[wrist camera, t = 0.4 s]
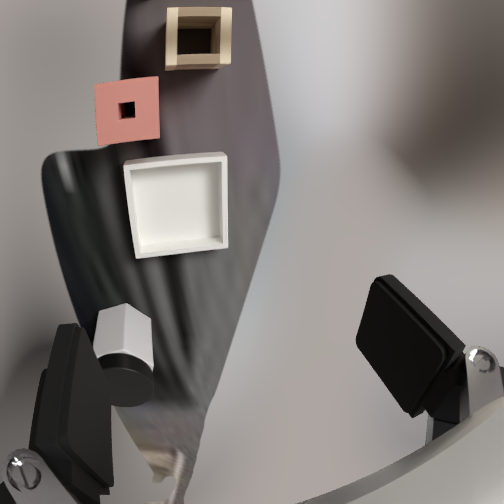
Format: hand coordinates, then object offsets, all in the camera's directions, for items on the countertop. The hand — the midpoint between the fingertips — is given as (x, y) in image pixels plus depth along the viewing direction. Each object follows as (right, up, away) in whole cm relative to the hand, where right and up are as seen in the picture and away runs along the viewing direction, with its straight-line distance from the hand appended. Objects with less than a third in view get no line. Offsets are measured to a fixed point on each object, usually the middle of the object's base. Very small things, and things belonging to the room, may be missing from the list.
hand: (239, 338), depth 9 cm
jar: (-19, -8, +33) cm, 39 cm away
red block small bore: (-13, +18, +20) cm, 30 cm away
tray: (-9, +9, +27) cm, 30 cm away
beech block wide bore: (-6, +25, +19) cm, 32 cm away
